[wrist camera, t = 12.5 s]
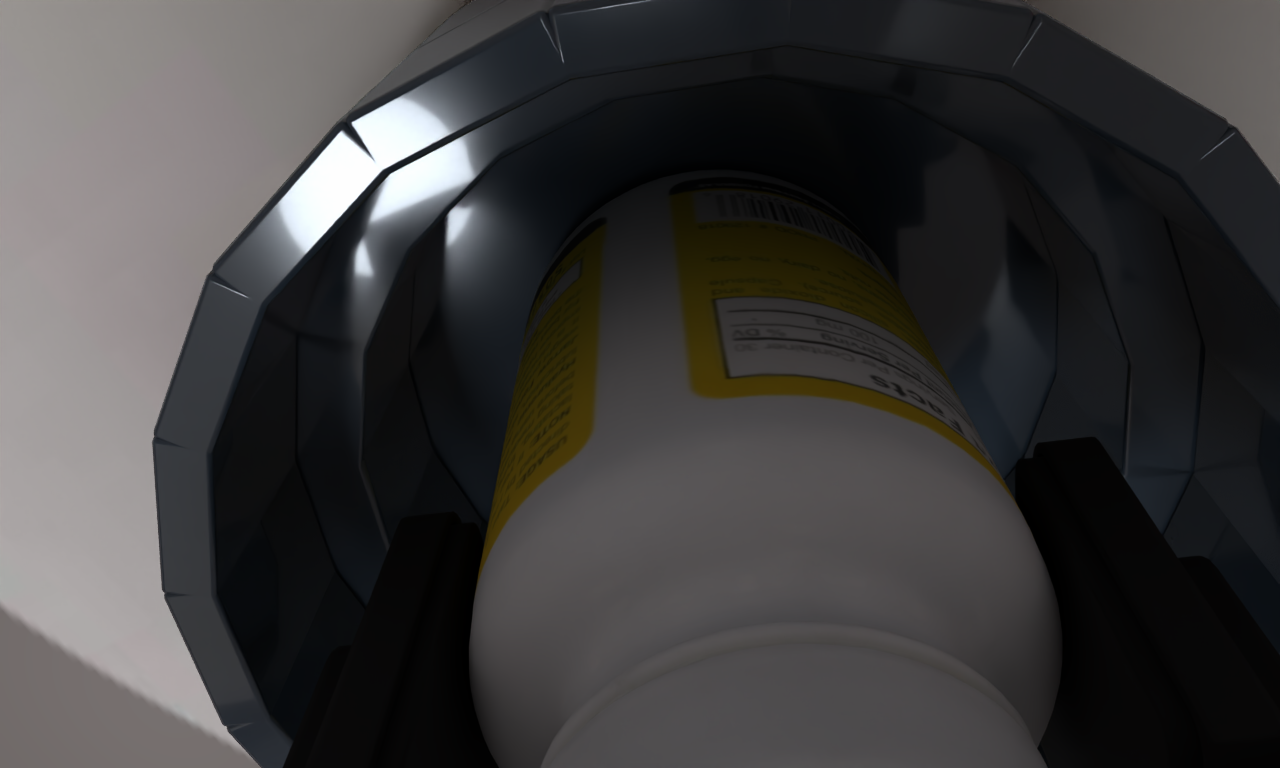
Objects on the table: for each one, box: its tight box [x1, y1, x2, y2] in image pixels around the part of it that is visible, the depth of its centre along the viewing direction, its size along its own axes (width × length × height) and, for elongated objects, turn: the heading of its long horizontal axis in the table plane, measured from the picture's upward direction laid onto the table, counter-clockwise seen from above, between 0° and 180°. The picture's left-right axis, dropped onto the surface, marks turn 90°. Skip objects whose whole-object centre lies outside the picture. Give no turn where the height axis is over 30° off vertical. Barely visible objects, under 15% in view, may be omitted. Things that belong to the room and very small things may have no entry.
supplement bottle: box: [469, 170, 1063, 768], centre depth 12 cm, size 5×5×10 cm
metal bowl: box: [152, 0, 1280, 768], centre depth 14 cm, size 12×12×6 cm
